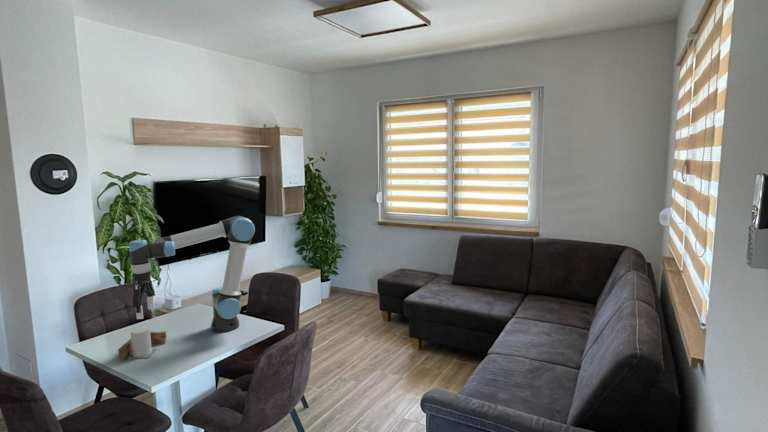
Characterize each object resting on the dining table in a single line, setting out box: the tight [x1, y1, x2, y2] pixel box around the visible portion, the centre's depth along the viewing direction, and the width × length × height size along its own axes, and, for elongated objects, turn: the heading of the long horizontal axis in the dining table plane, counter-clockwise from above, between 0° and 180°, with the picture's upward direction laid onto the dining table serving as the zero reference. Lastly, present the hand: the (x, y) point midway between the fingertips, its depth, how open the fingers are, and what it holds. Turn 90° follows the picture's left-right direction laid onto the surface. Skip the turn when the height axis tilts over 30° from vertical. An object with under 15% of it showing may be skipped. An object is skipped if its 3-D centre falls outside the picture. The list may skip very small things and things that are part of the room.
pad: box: [126, 348, 158, 360], centre depth 207 cm, size 10×10×1 cm
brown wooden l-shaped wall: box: [117, 330, 168, 362], centre depth 210 cm, size 14×20×6 cm
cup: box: [130, 326, 153, 357], centre depth 206 cm, size 8×8×12 cm
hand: (146, 313), depth 208 cm, fingers open, 13 cm apart
